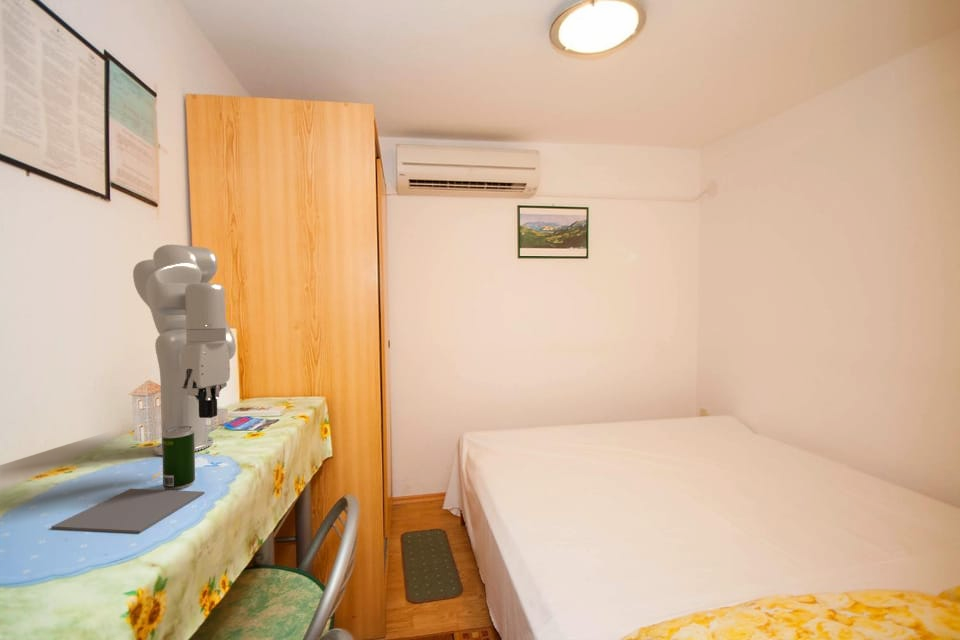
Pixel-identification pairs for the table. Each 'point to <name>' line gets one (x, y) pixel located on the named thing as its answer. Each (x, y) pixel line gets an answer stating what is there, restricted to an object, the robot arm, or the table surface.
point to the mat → (130, 511)
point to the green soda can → (178, 457)
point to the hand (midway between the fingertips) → (208, 416)
